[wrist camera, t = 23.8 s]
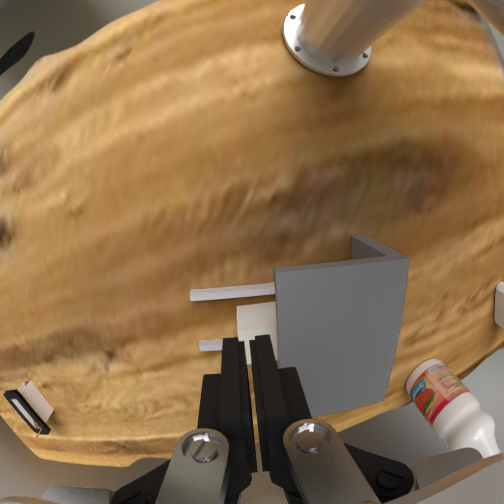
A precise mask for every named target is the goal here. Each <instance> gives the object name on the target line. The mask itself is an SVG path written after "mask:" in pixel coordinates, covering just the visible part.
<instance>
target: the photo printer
mask: <svg viewBox="0 0 504 504" xmlns="http://www.w3.org/2000/svg"><path fill="white" fill-rule="evenodd" d="M494 320H495V323H496V324H498V325H499V326H501V327H502V328H503V329H504V282H503V281H502V282H500V283H499V284H498V285H497V287H496V291H495V314H494Z"/></svg>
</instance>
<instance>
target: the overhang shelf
mask: <svg viewBox="0 0 504 504" xmlns="http://www.w3.org/2000/svg"><path fill="white" fill-rule="evenodd" d="M408 267H409V258H408V257H406V256H405V255H403V254H401V253H399V252H397V251H395V250H393V249H391V248H389V247H388V246H386V245H384V244H382V243H380V242H378V241H376V240H374V239H372V238H370V237H368V236H366V235H353V236H351V260H345V261H336V262H326V263H316V264H306V265H296V266H286V267H275V268H274V283H264V284H254V285H243V286H231V287H220V288H207V289H194V290H191V292H190V300H191V301H200V300H214V299H226V298H238V297H249V296H259V295H270V294H275V306H276V327H277V351H278V368H286V367H294V366H295V367H296V369H297V372H298V375H299V378H300V382H301V385H302V388H303V391H304V394H305V398H306V401H307V404H308V407H309V410H310V414H311V417H317V416H322V415H327V414H332V413H337V412H342V411H346V410H350V409H355V408H359V407H363V406H366V405H370V404H374V403H377V402H381V401H384V397H385V394H386V390H387V386H388V382H389V379H390V375H391V370H392V366H393V362H394V357H395V353H396V348H397V343H398V338H399V333H400V327H401V321H402V315H403V308H404V302H405V294H406V286H407V277H408ZM238 341H239V339H238ZM222 342H223V339H209V340H200V343H199V348H200V351H215V350H222Z"/></svg>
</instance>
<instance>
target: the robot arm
mask: <svg viewBox="0 0 504 504" xmlns="http://www.w3.org/2000/svg"><path fill="white" fill-rule="evenodd" d="M424 1H425V0H306V3H304V4H302V5H299V6H297V7H295V8H294V9H292V10H291V11H290V12H289V13H288V15H287V17H286V18H285V21H284V24H283V30H282V33H283V39H284V42H285V44H286V46H287V48H288V50H289V51H290V53H291V54H292V55H293V56H294V57H295V58H296V59H297V60H298V61H299V62H300V63H301V64H303V65H304V66H306V67H307V68H309V69H311V70H313V71H315V72H318V73H320V74H324V75H327V76H335V77H339V76H348V75H352V74H354V73H356V72H358V71H359V70H361V69H362V68H363V67H364V66H365V65H366V64H367V63H368V61H369V59H370V57H371V52H372V45H373V44H374V43H375V42H376V41H378V40H379V39H380V38H381V37H383V36H384V35H385V34H386V33H388V32H389V31H390V30H391V29H393V28H394V27H395V26H396V25H398V24H399V23H400V22H402V21H403V20H404V19H406V18H407V17H408V16H410V15H411V14H412V13H413V12H415V11H416V10H417V9H419V8H420V7H421V6H422V4H423V3H424ZM466 1H467V2H468V3H469V4H470V5H471V6H473V7H474V8H475V9H476V10H477V11H478V12H479V13H480V14H481V15H482V16H483V17H484V18H485V19H486V20H487V21H488V22H489V23H490V24H491V25H492V26H493V27H494V28H495V29H496V30H497V31H498V32H499V33H500V34H501V35H503V36H504V0H466ZM295 50H297V51H298V52H296V51H295ZM333 70H335V72H334V71H333ZM249 344H250V355H251V365H252V374H253V384H254V394H255V403H256V413H257V422H258V431H259V441H260V450H261V458H262V467H263V472H264V471H270V478H271V481H272V482H273V483H274V484H276V485H278V486H280V487H281V488H283V491H284V494H285V497H286V499H287V502H288V504H504V453H499V454H496V455H493V456H489V457H487V458H484V459H483V456H482V455H481V453H480V452H479V451H478V450H476V449H475V448H470V447H467V448H461V449H458V450H454V451H451V452H447V453H444V454H440V455H436V456H432V457H427V458H423V459H418V460H413V461H412V463H411V464H403V463H401V462H398V461H395V460H391V459H388V458H385V457H382V456H378V455H375V454H372V453H370V452H367V451H364V450H361V449H358V448H356V447H353V446H350V445H347V444H345V443H343V442H342V440H341V439H340V437H339V436H338V434H337V432H336V431H335V429H334V428H333V427H332V426H331V425H330V424H328V423H327V422H325V421H322V420H318V419H312V417H311V414H310V410H309V407H308V404H307V401H306V398H305V394H304V391H303V388H302V385H301V382H300V378H299V375H298V372H297V369H296V367H295V366H294V367H286V368H278V369H277V364H276V360H275V355H274V351H273V346H272V342H271V337H270V334H267V335H257V336H255V340H249ZM253 472H257V461H256V451H255V440H254V429H253V418H252V407H251V396H250V388H249V379H248V370H247V361H246V352H245V343H244V341H238V337H235V338H223V342H222V362H221V374H205V375H204V377H203V383H202V391H201V400H200V408H199V417H198V426H197V429H196V430H192V431H190V432H188V433H186V434H184V435H183V436H182V437H181V438H180V439H179V441H178V442H177V444H176V447H175V450H174V453H173V455H172V458H171V459H170V460H169V461H167V462H165V463H164V464H162V465H160V466H159V467H157V468H155V469H154V470H152V471H150V472H148V473H147V474H145V475H143V476H141V477H140V478H138V479H136V480H134V481H133V482H131V483H129V484H127V485H125V486H123V487H122V488H120V489H119V490H117V491H111V490H110V489H108V488H84V487H72V486H62V485H55V486H51V487H49V488H48V489H47V490H46V491H45V492H44V494H43V497H42V499H38V498H32V497H16V496H15V497H5V498H2V499H0V504H241V497H242V491H243V490H244V489H245V488H247V487H248V486H249V485H250V484H251V481H252V477H251V473H253Z"/></svg>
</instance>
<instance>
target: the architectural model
mask: <svg viewBox="0 0 504 504" xmlns="http://www.w3.org/2000/svg"><path fill="white" fill-rule="evenodd" d="M4 396H5V397H6V399H7V400H8V401H9V403H10V404H11V405H12V406H13V408H14V409H15V410H16V411H17V413H18V414H19V415H20V416H21V417H22V418H23V420H24V421H25V422H26V423H27V424H28V425H29V426H30V427H31V429H32V430H33V431H34V432H36V433H38V434H37V436H36V437H38V435H39V434H45V435H48V434H49V432H50V431H51V429H50V428H49V427H48V426H47V424H46V422H47V420H48V419H49V417H50V415H51V414H52V412H53V410H54V409H53V408H52V407H51V406H50V405H49V403H48V402H47V401H46V400H45V398H44V397H43V396H42V395H41V393H40V392H39V391H38V389H37V388H36V387H35V385H34V384H33V383H32V381H28V382H24V383H23V384H22V385H21V387H20V388H19V389H18V390H9V391H6V393H4Z"/></svg>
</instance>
